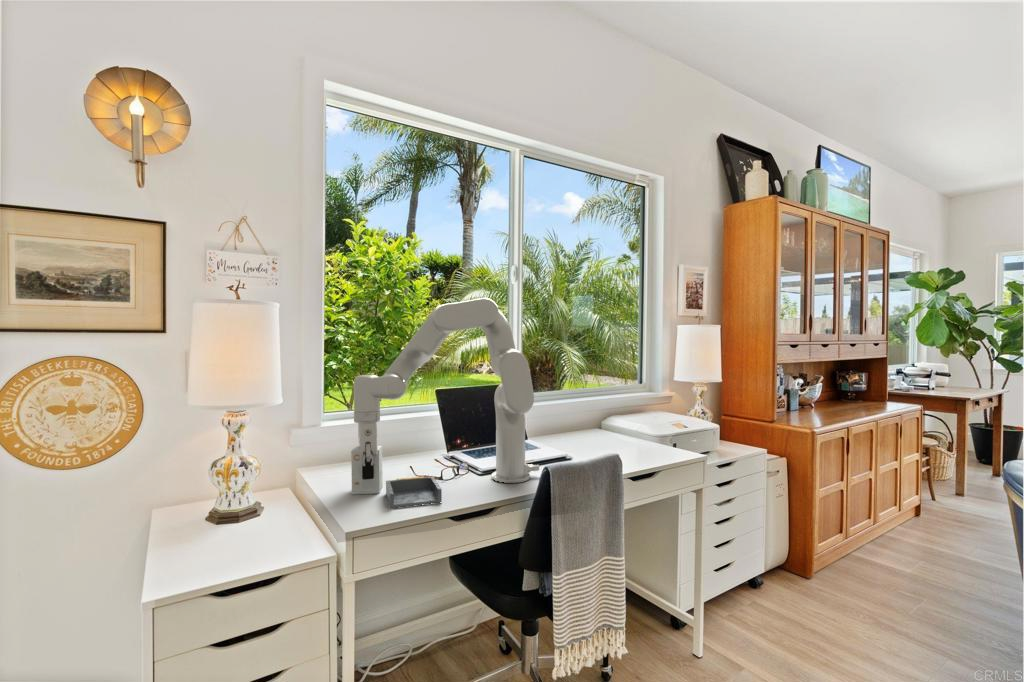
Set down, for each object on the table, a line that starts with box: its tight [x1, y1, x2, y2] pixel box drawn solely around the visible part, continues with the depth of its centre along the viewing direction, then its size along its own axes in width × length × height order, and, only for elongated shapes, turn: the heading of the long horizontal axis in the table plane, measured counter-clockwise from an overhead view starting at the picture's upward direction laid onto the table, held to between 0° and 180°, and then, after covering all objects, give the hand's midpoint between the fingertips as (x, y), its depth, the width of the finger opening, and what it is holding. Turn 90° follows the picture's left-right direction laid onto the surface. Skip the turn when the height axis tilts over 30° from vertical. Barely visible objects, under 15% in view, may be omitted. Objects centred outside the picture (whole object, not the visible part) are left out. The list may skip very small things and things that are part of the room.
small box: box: [350, 445, 383, 495], centre depth 152 cm, size 8×6×13 cm
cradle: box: [385, 475, 443, 509], centre depth 145 cm, size 14×13×4 cm
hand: (367, 474), depth 152 cm, fingers closed on small box, 7 cm apart
